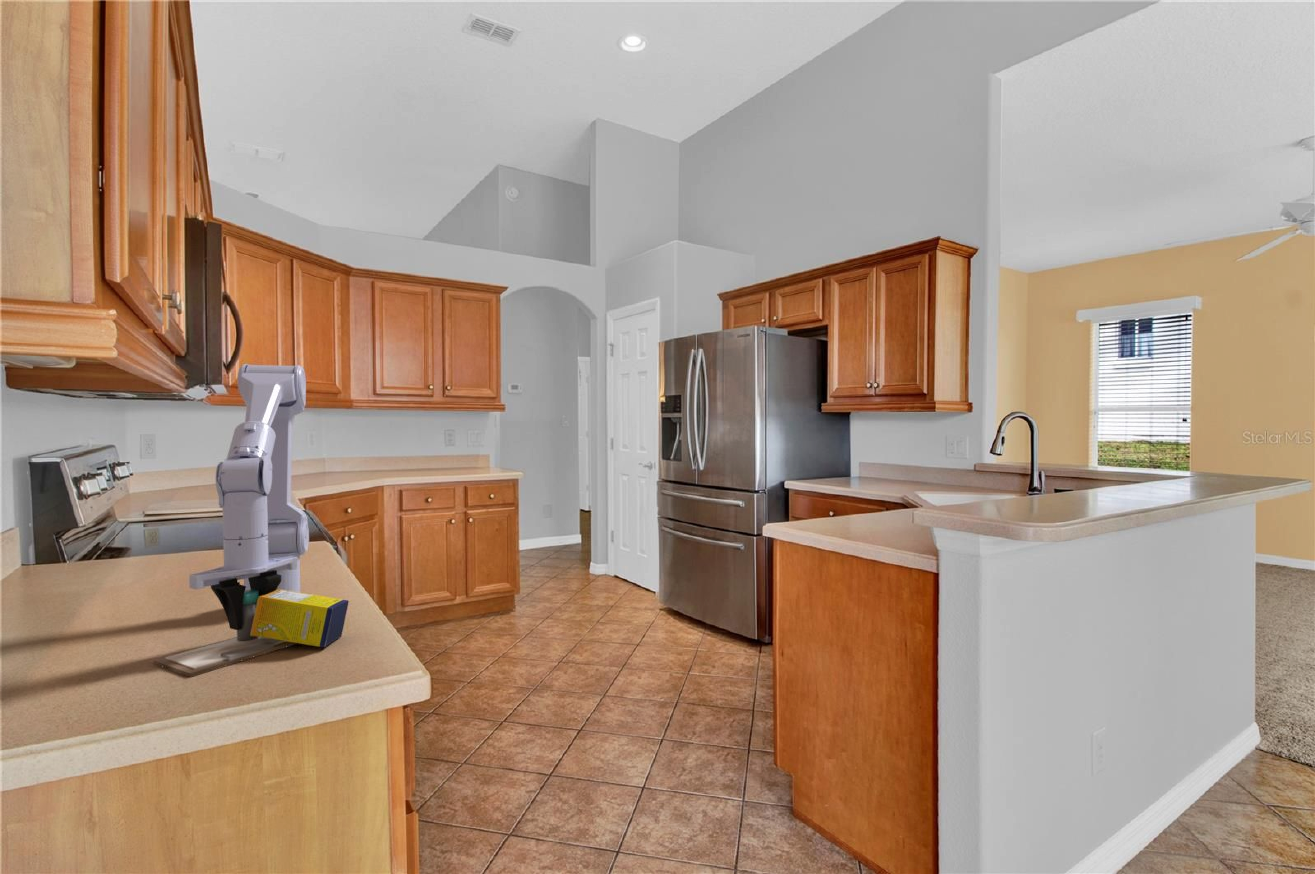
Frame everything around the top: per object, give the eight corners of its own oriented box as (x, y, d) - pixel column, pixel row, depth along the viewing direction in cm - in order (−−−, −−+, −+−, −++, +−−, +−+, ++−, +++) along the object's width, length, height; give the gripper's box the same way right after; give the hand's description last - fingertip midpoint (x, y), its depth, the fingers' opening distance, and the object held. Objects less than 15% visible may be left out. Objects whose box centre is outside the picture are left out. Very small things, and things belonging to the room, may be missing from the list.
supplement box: (341, 638, 99) (270, 626, 98) (350, 599, 99) (279, 587, 98) (324, 649, 93) (248, 636, 92) (333, 608, 93) (257, 595, 92)
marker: (232, 639, 96) (231, 593, 95) (253, 633, 98) (252, 588, 98) (242, 642, 94) (241, 595, 94) (263, 636, 97) (262, 591, 97)
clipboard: (153, 663, 88) (153, 655, 88) (270, 630, 102) (270, 623, 102) (189, 677, 83) (189, 669, 83) (307, 640, 97) (307, 633, 97)
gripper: (206, 547, 88) (208, 644, 88) (308, 531, 100) (309, 616, 101) (181, 542, 91) (183, 636, 91) (282, 528, 104) (284, 610, 104)
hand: (247, 625), depth 96 cm, fingers closed on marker, 3 cm apart
